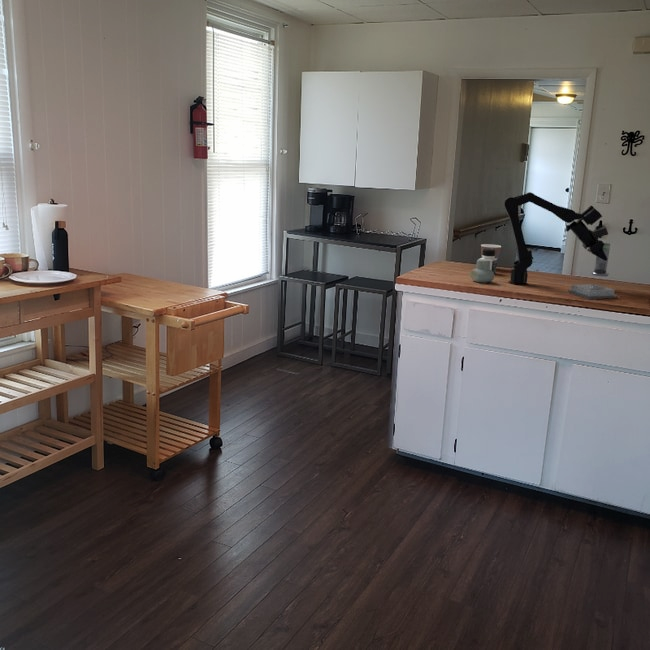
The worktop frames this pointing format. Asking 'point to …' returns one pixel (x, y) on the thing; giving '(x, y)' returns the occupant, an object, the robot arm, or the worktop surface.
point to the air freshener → (482, 272)
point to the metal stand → (592, 291)
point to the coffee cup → (490, 246)
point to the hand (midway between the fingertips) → (605, 259)
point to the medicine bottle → (490, 258)
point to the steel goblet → (602, 263)
